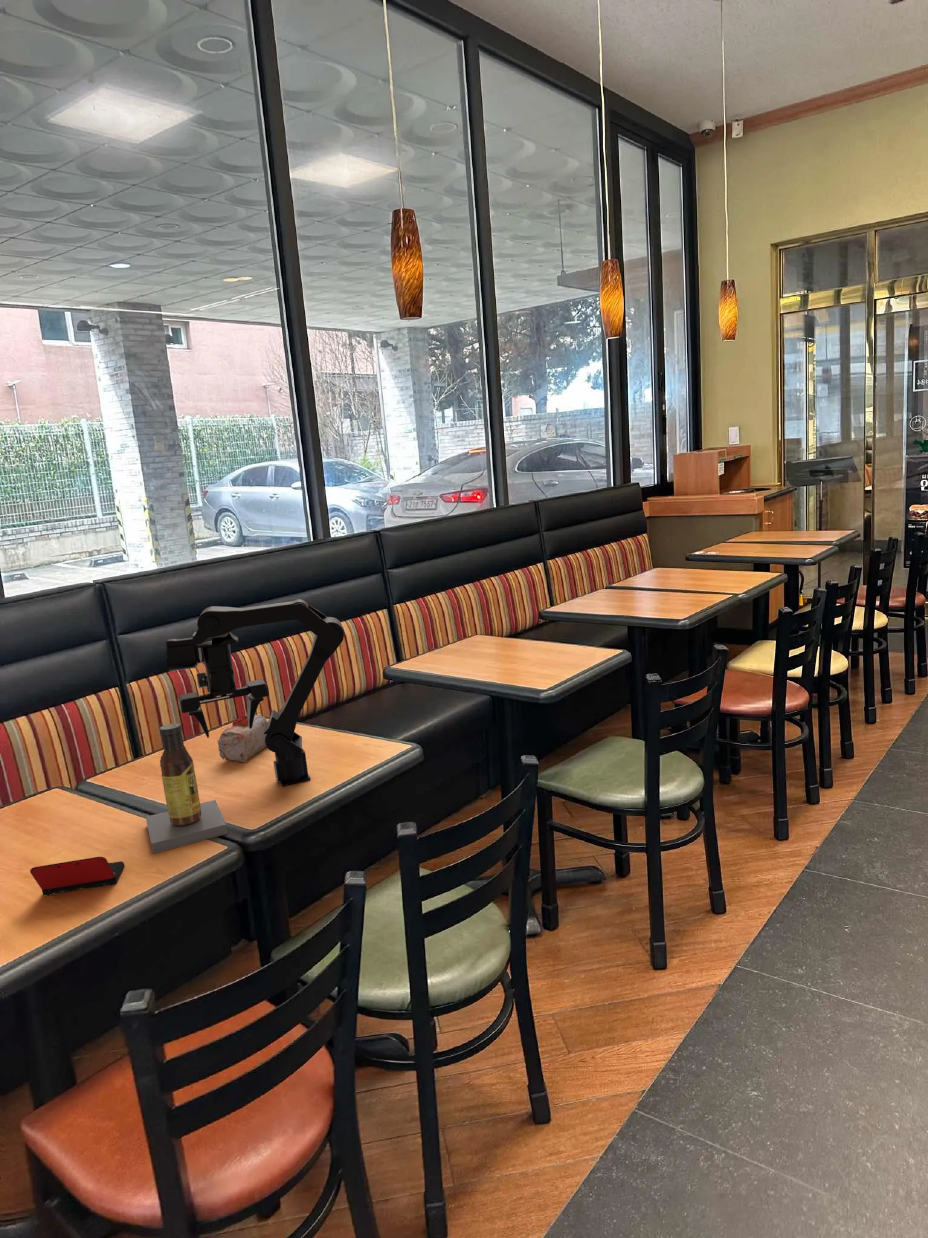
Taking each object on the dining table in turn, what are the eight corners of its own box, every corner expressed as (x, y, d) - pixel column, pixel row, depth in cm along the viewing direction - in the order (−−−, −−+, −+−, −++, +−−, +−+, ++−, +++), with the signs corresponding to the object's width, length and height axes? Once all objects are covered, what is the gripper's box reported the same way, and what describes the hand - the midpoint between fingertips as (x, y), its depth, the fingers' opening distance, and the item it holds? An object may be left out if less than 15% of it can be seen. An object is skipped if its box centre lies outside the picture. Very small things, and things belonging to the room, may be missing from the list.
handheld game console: (126, 865, 155) (119, 829, 153) (112, 895, 144) (104, 856, 143) (55, 876, 153) (48, 839, 152) (36, 907, 143) (27, 868, 141)
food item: (247, 765, 200) (241, 726, 198) (218, 764, 202) (212, 726, 200) (274, 744, 213) (269, 708, 211) (246, 744, 215) (241, 708, 213)
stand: (216, 808, 176) (215, 799, 176) (227, 833, 164) (226, 824, 163) (147, 825, 171) (145, 816, 170) (153, 853, 158) (151, 843, 158)
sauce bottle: (202, 823, 165) (186, 728, 161) (169, 830, 163) (152, 734, 159) (202, 810, 171) (187, 718, 167) (170, 817, 169) (154, 724, 165)
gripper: (254, 650, 192) (263, 714, 195) (170, 665, 184) (181, 732, 188) (264, 659, 182) (274, 727, 185) (176, 676, 174) (187, 746, 178)
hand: (229, 732), depth 184 cm, fingers open, 9 cm apart
